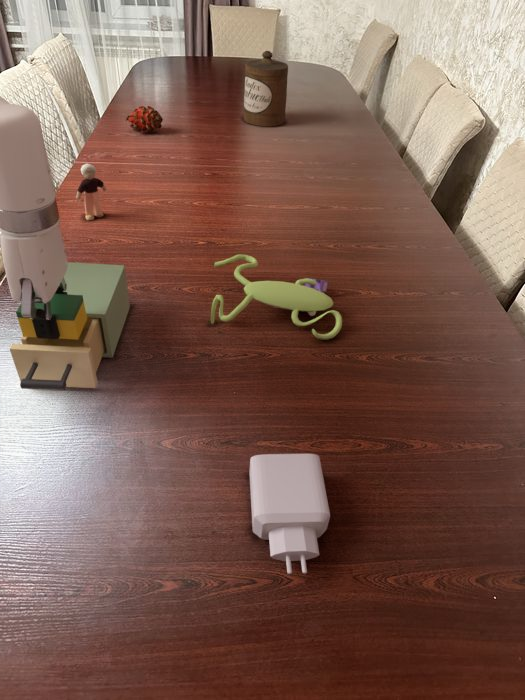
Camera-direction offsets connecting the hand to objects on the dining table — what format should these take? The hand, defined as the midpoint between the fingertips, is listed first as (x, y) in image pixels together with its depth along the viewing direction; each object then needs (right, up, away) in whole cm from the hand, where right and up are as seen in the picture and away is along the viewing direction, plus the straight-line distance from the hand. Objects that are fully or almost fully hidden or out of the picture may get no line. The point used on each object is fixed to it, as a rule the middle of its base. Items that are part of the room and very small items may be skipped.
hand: (54, 324), depth 78 cm
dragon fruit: (-8, +68, +94) cm, 116 cm away
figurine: (+33, +5, +24) cm, 41 cm away
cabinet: (0, 0, +15) cm, 15 cm away
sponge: (0, 0, 0) cm, 1 cm away
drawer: (0, -7, +6) cm, 9 cm away
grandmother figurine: (-9, +28, +48) cm, 56 cm away
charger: (+34, -26, -12) cm, 45 cm away
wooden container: (+32, +79, +110) cm, 139 cm away
